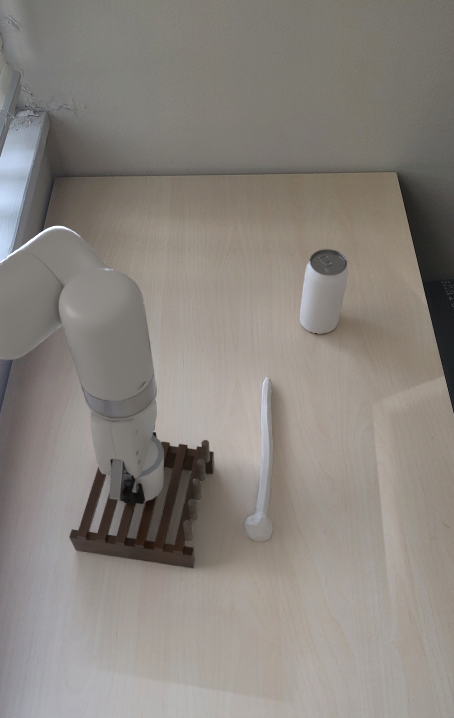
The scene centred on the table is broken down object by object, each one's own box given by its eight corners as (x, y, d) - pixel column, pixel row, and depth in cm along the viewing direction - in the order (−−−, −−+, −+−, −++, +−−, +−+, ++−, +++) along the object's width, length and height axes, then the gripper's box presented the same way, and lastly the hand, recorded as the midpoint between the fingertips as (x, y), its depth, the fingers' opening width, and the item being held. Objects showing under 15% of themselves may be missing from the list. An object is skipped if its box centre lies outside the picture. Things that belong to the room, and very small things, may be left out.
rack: (75, 550, 85) (60, 519, 78) (106, 452, 93) (95, 415, 85) (193, 568, 84) (189, 539, 76) (214, 467, 92) (213, 431, 84)
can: (310, 340, 104) (319, 281, 93) (292, 313, 106) (299, 254, 96) (345, 328, 105) (358, 269, 94) (326, 302, 108) (336, 242, 97)
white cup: (164, 457, 85) (160, 426, 79) (171, 501, 82) (167, 472, 75) (113, 464, 84) (104, 434, 78) (117, 509, 81) (109, 481, 75)
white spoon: (247, 380, 99) (248, 367, 97) (273, 381, 99) (275, 368, 97) (242, 542, 86) (242, 532, 83) (272, 543, 86) (273, 533, 83)
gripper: (105, 318, 70) (127, 416, 86) (59, 447, 62) (92, 530, 77) (172, 326, 70) (182, 424, 85) (134, 458, 61) (153, 540, 77)
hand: (139, 474), depth 81 cm, fingers closed on white cup, 6 cm apart
